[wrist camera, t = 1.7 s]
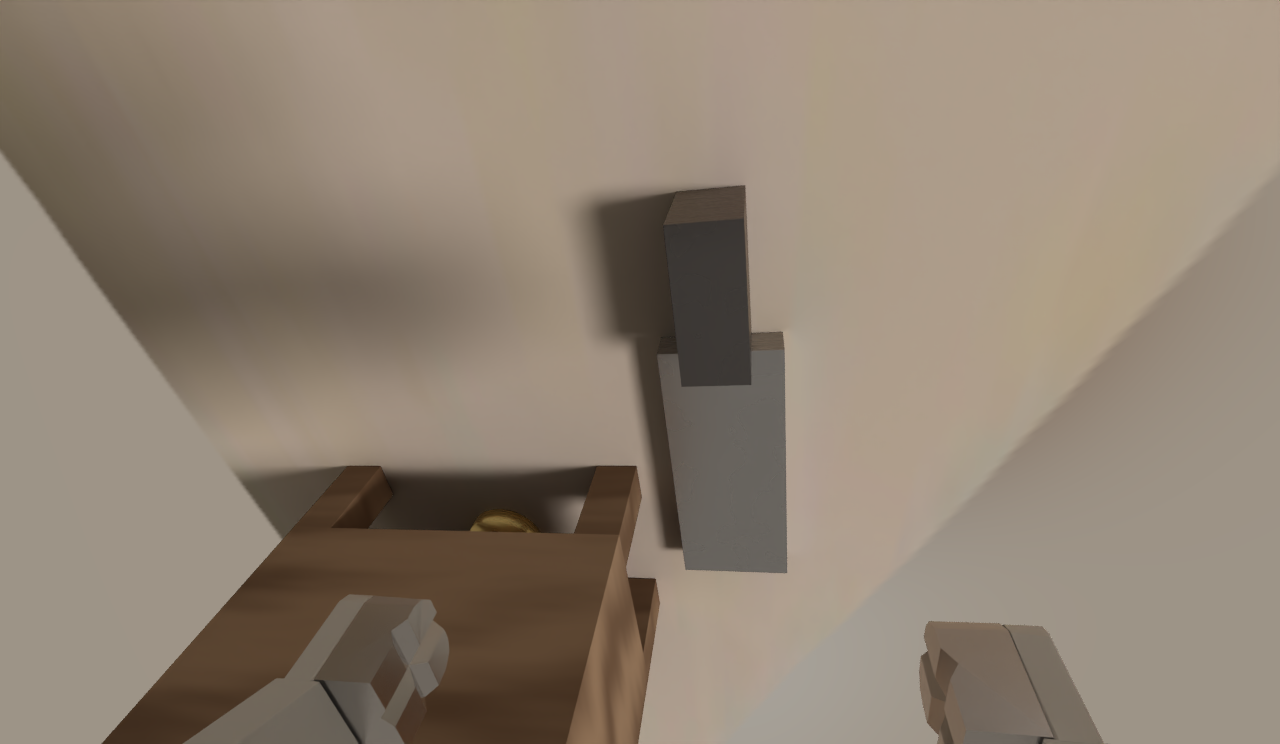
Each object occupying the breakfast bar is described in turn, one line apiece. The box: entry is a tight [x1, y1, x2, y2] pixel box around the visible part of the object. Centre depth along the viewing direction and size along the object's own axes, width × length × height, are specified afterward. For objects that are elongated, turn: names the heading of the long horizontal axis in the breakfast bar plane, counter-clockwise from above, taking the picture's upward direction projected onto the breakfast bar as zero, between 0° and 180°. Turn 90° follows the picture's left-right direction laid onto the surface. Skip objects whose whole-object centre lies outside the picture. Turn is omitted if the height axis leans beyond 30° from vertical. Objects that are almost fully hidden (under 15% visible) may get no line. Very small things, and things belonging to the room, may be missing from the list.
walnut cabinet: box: [102, 466, 660, 744], centre depth 26 cm, size 11×16×18 cm
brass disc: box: [470, 509, 540, 533], centre depth 33 cm, size 4×4×1 cm
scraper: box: [657, 186, 787, 573], centre depth 25 cm, size 18×5×4 cm, turn 8°
